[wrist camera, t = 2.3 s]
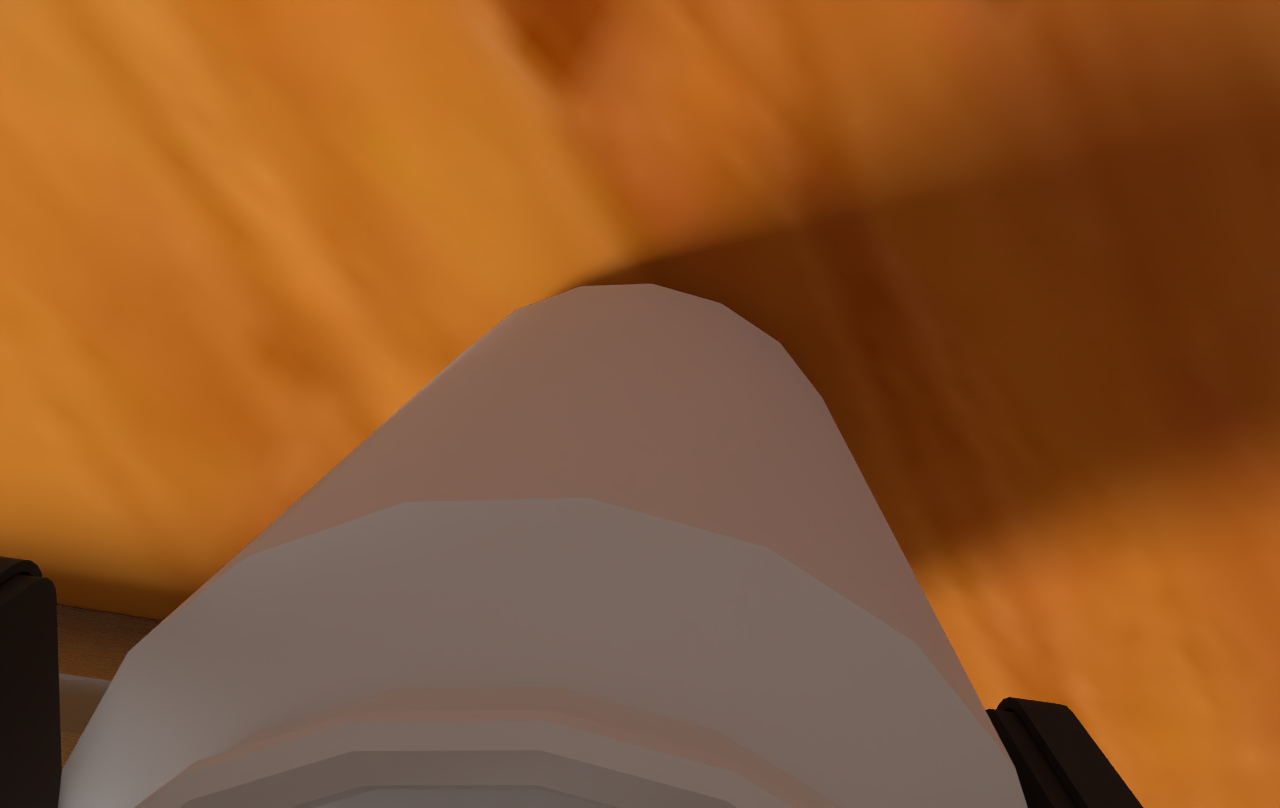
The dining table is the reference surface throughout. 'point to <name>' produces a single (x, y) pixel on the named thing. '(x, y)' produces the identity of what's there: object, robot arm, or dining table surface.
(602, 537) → the can
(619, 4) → the dining table surface
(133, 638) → the open square box
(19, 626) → the robot arm
